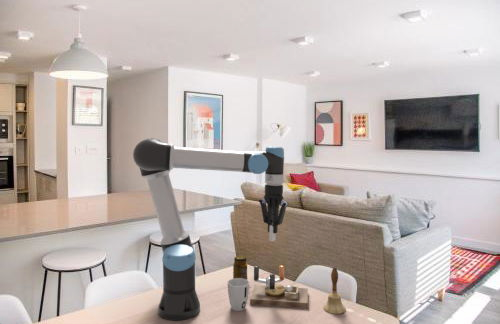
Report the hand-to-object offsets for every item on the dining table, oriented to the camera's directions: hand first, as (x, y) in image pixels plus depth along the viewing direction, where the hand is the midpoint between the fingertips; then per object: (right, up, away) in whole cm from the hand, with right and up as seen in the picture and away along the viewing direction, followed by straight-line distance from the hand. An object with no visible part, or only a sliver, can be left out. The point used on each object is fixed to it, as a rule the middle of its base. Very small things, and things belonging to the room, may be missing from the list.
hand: (272, 240), depth 163 cm
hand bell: (+23, -23, -15) cm, 36 cm away
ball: (+6, -20, -7) cm, 22 cm away
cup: (-14, -23, -15) cm, 30 cm away
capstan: (-2, -20, -7) cm, 21 cm away
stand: (+3, -22, -6) cm, 23 cm away
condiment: (-14, -21, +7) cm, 26 cm away
